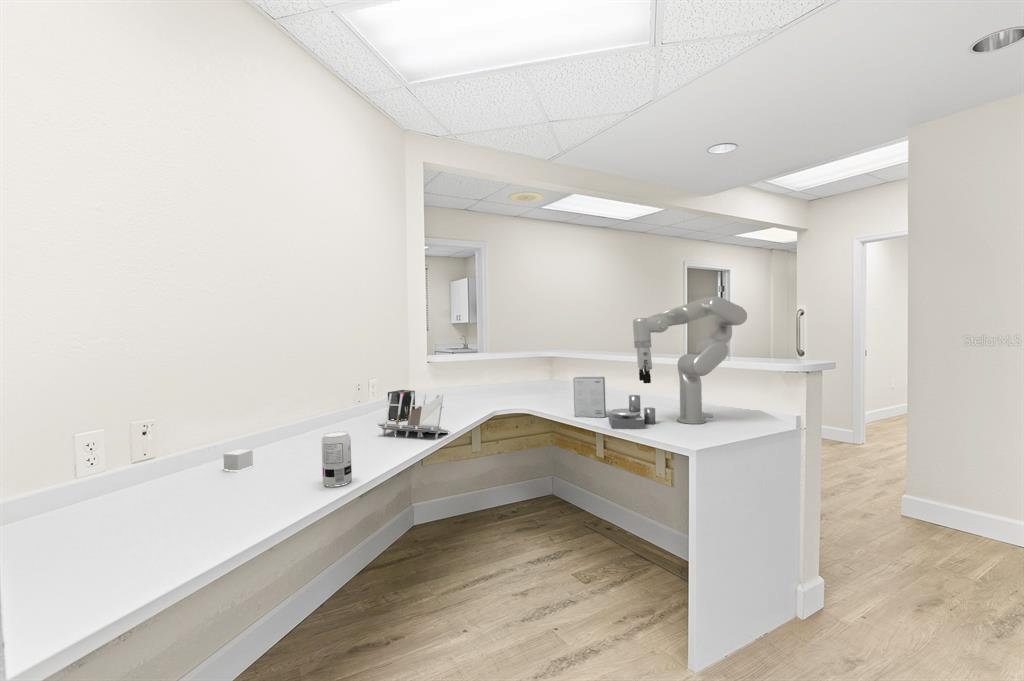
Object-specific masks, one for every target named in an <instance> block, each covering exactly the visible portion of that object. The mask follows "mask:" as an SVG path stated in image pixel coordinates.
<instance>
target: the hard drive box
mask: <svg viewBox="0 0 1024 681" xmlns="http://www.w3.org/2000/svg"><path fill="white" fill-rule="evenodd" d="M605 382H606V378H605V376H574V377H573V402H574V403H573V404H574V407H573V408H574V409H573V410H574V417H575V416H577V417H576V418H605V417H606V416H607V409H606V385H605V384H606V383H605Z"/></svg>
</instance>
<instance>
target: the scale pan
mask: <svg viewBox="0 0 1024 681" xmlns="http://www.w3.org/2000/svg"><path fill="white" fill-rule="evenodd" d="M610 412H611V413H610V414H613V415H619V416H622V417H629V416H636V415H640V416H641V410H640V412H630V411H629V408H614V409H612V410H611V411H610Z"/></svg>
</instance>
